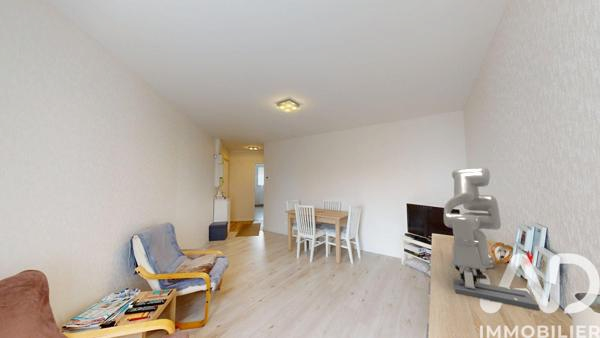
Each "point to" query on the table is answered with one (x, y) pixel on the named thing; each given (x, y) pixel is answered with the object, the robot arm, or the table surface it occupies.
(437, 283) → the table surface
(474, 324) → the table surface
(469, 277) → the fader
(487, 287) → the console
